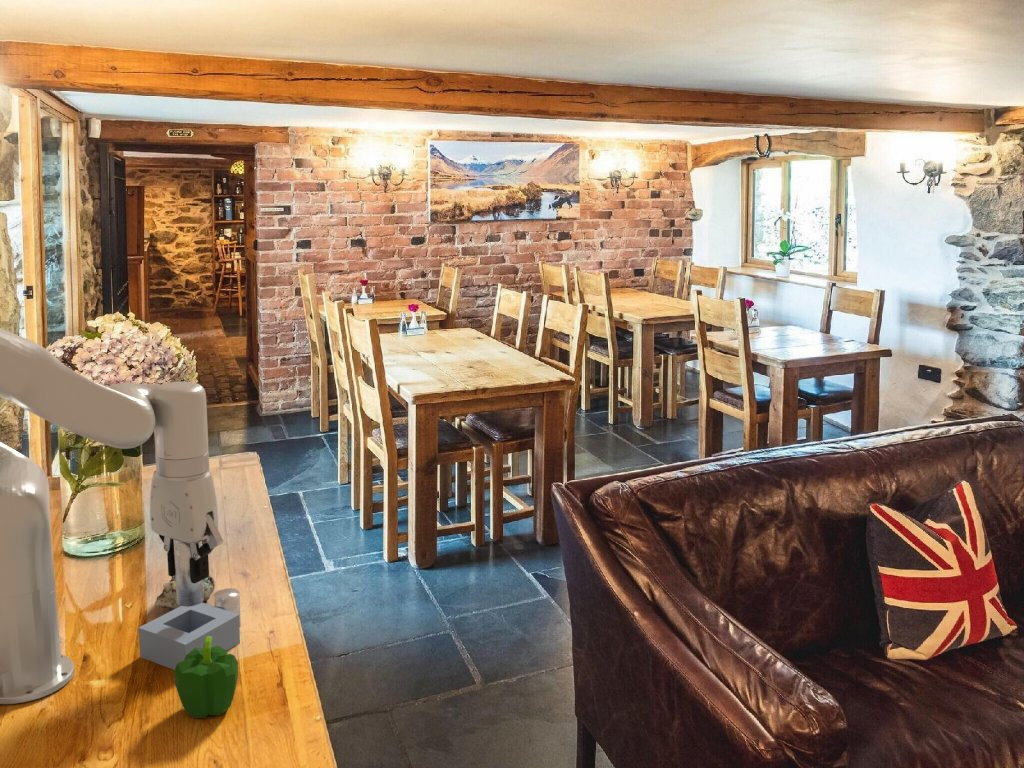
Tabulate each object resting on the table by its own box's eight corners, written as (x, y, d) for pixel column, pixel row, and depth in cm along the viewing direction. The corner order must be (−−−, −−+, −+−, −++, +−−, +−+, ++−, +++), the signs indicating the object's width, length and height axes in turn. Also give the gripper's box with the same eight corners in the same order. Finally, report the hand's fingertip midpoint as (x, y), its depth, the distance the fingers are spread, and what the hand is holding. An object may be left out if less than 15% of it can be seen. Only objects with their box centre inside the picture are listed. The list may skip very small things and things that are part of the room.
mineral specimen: (207, 616, 148) (213, 568, 149) (150, 614, 146) (156, 565, 148) (216, 608, 160) (221, 563, 161) (163, 606, 158) (168, 561, 159)
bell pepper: (222, 729, 119) (219, 663, 117) (166, 721, 121) (162, 655, 118) (250, 696, 127) (248, 633, 125) (197, 688, 129) (194, 626, 127)
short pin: (228, 635, 144) (227, 601, 143) (210, 628, 146) (208, 595, 145) (245, 624, 148) (244, 592, 146) (227, 619, 149) (226, 586, 148)
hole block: (186, 674, 132) (185, 644, 131) (140, 657, 137) (138, 627, 135) (239, 643, 142) (239, 614, 141) (194, 627, 146) (193, 599, 145)
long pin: (189, 608, 135) (186, 535, 132) (171, 602, 137) (167, 530, 134) (209, 598, 138) (206, 527, 136) (191, 592, 140) (187, 521, 137)
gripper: (123, 461, 133) (131, 573, 137) (204, 480, 126) (210, 598, 130) (163, 449, 139) (169, 556, 143) (242, 467, 132) (247, 579, 136)
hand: (188, 575), depth 136 cm, fingers closed on long pin, 4 cm apart
